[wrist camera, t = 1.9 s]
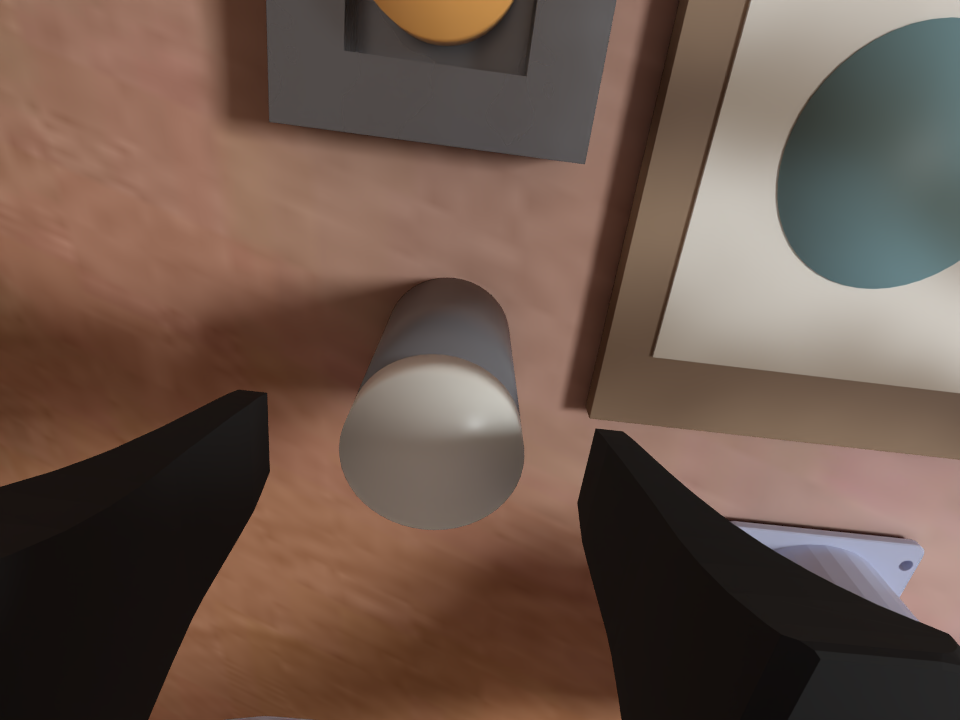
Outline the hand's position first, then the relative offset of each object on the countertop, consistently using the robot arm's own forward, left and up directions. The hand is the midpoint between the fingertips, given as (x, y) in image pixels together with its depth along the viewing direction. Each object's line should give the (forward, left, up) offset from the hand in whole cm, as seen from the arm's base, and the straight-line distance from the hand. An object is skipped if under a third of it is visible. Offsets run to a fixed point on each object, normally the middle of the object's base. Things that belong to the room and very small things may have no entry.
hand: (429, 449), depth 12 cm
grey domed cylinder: (0, 0, -7) cm, 7 cm away
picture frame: (+7, -12, -7) cm, 15 cm away
